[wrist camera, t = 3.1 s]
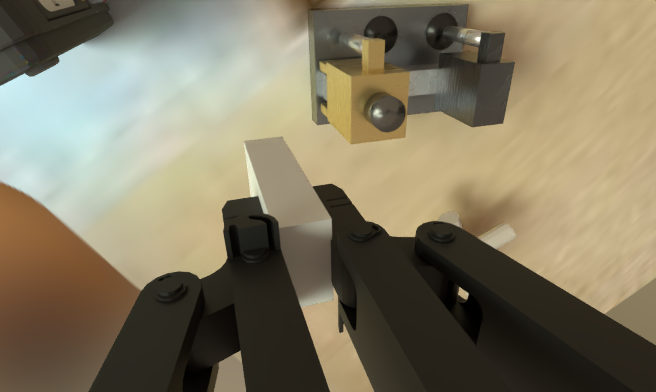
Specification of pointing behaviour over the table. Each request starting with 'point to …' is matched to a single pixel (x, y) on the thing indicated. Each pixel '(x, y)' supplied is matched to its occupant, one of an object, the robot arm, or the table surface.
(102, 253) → the table surface
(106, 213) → the table surface
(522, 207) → the table surface
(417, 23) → the bolt plate
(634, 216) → the table surface
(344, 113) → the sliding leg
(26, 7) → the card reader
